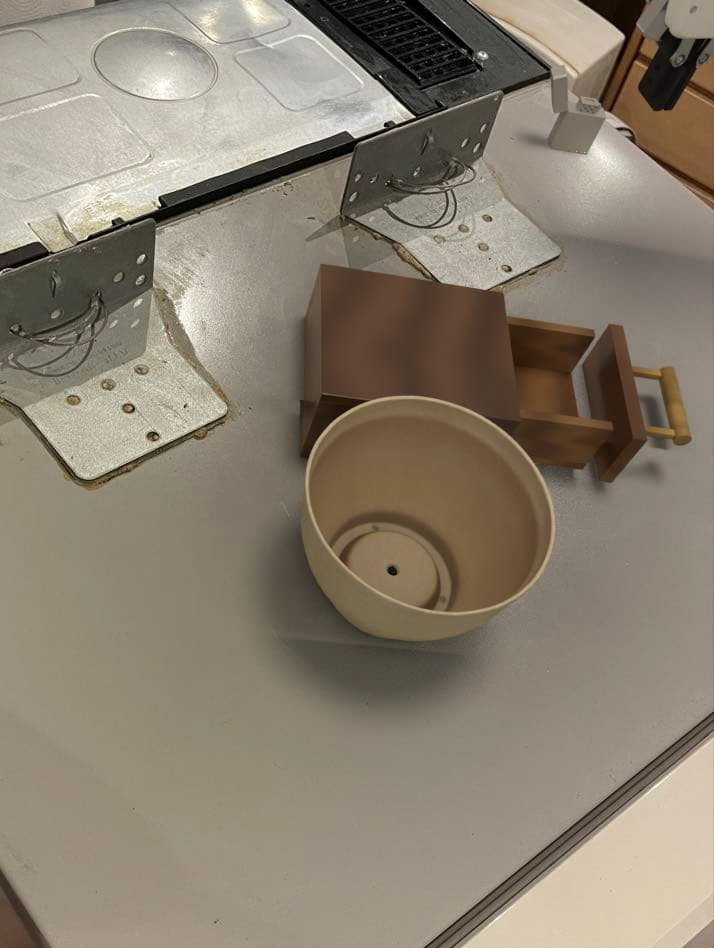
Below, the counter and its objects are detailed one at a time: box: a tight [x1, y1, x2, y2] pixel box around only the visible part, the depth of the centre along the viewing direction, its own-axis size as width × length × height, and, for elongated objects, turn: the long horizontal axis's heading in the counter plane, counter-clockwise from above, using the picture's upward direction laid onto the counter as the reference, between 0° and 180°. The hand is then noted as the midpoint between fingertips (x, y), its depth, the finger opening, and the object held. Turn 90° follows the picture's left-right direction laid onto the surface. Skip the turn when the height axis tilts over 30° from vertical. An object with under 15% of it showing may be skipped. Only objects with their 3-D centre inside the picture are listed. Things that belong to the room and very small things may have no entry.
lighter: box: [547, 64, 607, 154], centre depth 98 cm, size 7×2×8 cm, turn 92°
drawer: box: [507, 315, 693, 484], centre depth 78 cm, size 19×11×6 cm, turn 90°
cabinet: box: [299, 263, 521, 459], centre depth 76 cm, size 15×13×8 cm
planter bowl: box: [300, 396, 556, 642], centre depth 66 cm, size 16×16×11 cm
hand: (653, 99), depth 81 cm, fingers closed
